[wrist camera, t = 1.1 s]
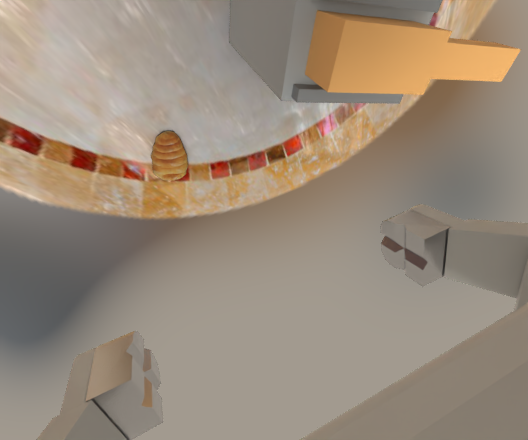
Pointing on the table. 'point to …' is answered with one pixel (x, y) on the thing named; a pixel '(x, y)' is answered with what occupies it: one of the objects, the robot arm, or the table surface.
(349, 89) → the lever
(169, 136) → the pastry
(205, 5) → the table surface
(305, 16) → the tall grey bin
